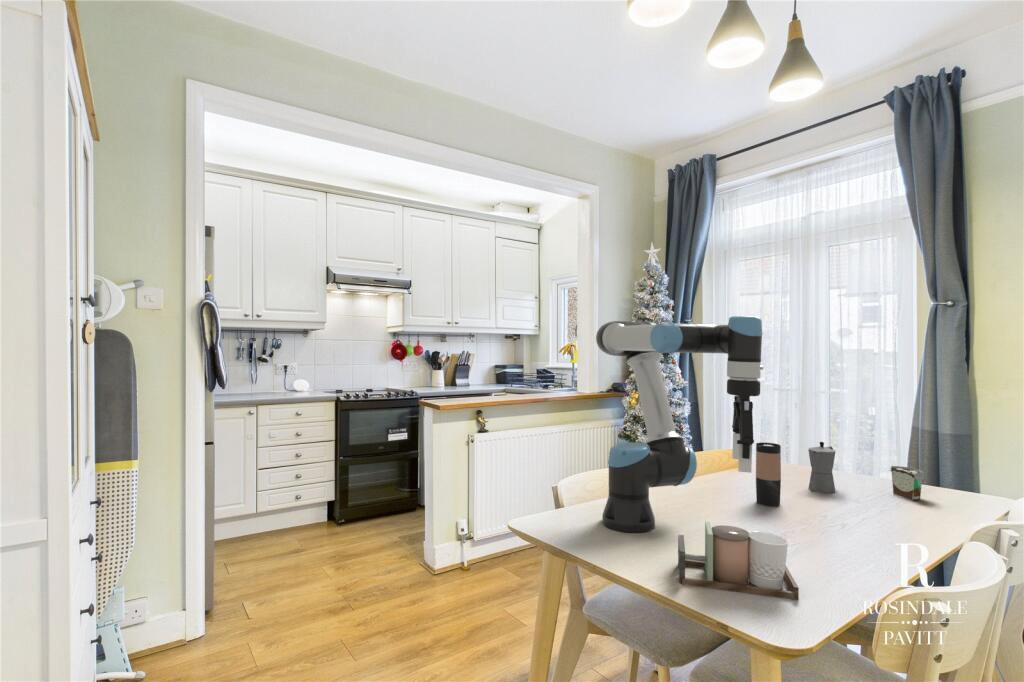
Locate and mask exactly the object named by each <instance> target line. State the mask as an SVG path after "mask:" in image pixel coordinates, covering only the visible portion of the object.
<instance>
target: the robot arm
mask: <svg viewBox="0 0 1024 682" xmlns="http://www.w3.org/2000/svg"><path fill="white" fill-rule="evenodd" d="M762 324H763V322H762V319H761V318H760V317H759V316H755V315H754V316H753V315H751V316H750V315H736V316H735V315H734V316H730V317H729V318H728V323H727V324H708V323H706V324H703V323H700V324H699V323H691V324H690V323H673V322H663V323H656V322H650V321H645V320H644V321H627V320H626V321H621V320H614V321H613V320H612V321H609V322H607V323H604V324H602V325H601V326H600V327H599V329H598V330H597V332H596V336H595V341H596V345H597V346H598V348H599V349H600V350H601V352H603V353H605V355H606V354H607V355H609V356H613V357H614V356H615V357H625V359H626V363H627V365H628V366H630V367H631V368H632V370H633V374H634V378H635V384H636V388H637V391H638V392H637V393H638V397H639V401H640V406H641V411H642V415H643V419H644V420H643V421H644V425H645V429H646V434H647V439H646V441H645V442H639V441H637V442H636V441H635V442H632V441H631V442H622V443H619V444H616V445H613V446H612V447H611V448H610V450H609V452H608V460H607V464H608V497H607V499H606V502H605V503H606V504H605V506H604V508H603V512H602V521H601V522H602V524H603V525H604V526H605V527H606V528H609V529H611V530H615V531H618V532H624V533H645V532H650V531H653V530H654V529H655V527H656V519H655V515H654V512H653V508H652V504H651V502H650V498H649V497H650V488H657V487H669V486H671V487H672V486H673V487H678V486H681V485H687V484H689V483H690V482H691V481H692V480H693V479H694V477H695V474H696V473H697V469H698V468H697V467H698V461H697V455H696V452H695V451H694V450H693V448H692V447H691V446H690V445H687V444H685V441H684V439H683V438H684V437H683V436H681V435H680V434H678V433H677V431H676V427H675V423H674V419H673V415H672V410H671V407H670V406H671V405H670V402H669V399H668V398H669V397H668V394H667V390H666V387H665V385H666V384H665V382H664V377H663V373H662V369H661V366H660V361H661V360H662V359H663V354H671V353H672V354H675V353H676V354H683V353H685V354H688V353H690V354H692V353H693V354H695V353H696V354H727V362H726V367H727V368H726V377H728V379H727V380H726V393H727V394H728V395H731V396H733V399H734V401H733V415H732V416H733V419H732V425H731V428H732V432H733V433H732V457H731V458H732V459H733V460H738V469H737V471H738V472H739V473H748V474H749V473H750V474H752V469H753V468H752V463H753V461H752V460H753V457H752V456H753V444H754V442H755V440H754V423H753V421H754V420H753V418H754V417H753V408H754V403H753V401H751V400H750V399H751V398H750V397H758V396H760V395H761V381H760V380H758V379H760V378H761V375H762V373H761V372H762V371H763V370H764V366H763V365H761V362H762V344H763V343H762V341H763V340H762V339H763V325H762Z"/></svg>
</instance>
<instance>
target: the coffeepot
mask: <svg viewBox="0 0 1024 682" xmlns="http://www.w3.org/2000/svg"><path fill="white" fill-rule="evenodd" d="M819 445H820V446H814V447H813V446H812V447H808V450H807V451H808V457H809V461H810V462H809V463H810V467H811V473H810V478H809V482H808V483H809V484H808V490H810V491H812V492H817V493H824V494H834V493H836V486H835V481H834V473H833V469H834V465H835V464H834V463H835V457H836V452H837V451H836V450H835V449H834V448H833V446H831V445H830V446H825V442H824V441H819Z"/></svg>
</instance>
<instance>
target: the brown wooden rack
mask: <svg viewBox="0 0 1024 682" xmlns="http://www.w3.org/2000/svg"><path fill="white" fill-rule="evenodd" d="M684 537H685V536H684V534H678V536H677V538H678V539H677V541H678V542H677V543H678V544H677V550H678V551H677V552H678V553H677V555H678V556H677V565H678V567H677V568H678V583H679V584H682V585H684V586H693V587H700V588H705V589H706V588H707V589H713V590H714V589H715V590H722V591H730V592H736V593H746V594H752V595H758V596H759V595H760V596H766V597H775V598H782V599H790V600H798V601H799V588H800V587H799V586H798V584H797V582H796V581H795V579H794V578H793V575H792V573H791V572H790V570H789V569H788V567H787V564H786V565H785V573H784V576H783V582H785V583H784V584H785V585H786V587H787V589H788V590H781V589H779V590H776V589H768V588H761V587H758V586H754V585H747V586H745V585H738V584H730V583H722V582H715V581H714V580H713V581H707V579H698V578H689V577H686V566H687V567H694V568H703V569H705V562H704V561H696V560H687V559H685V554H686V546H685V544H686V543H685V538H684ZM748 569H749V568H748Z"/></svg>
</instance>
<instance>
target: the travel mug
mask: <svg viewBox="0 0 1024 682" xmlns="http://www.w3.org/2000/svg"><path fill="white" fill-rule="evenodd" d="M755 447H756V448H755V488H756V489H755V493H756V494H755V495H756V504H759V505H761V506H765V507H779V506H781V488H782V487H781V486H782V485H781V482H782V467H781V466H782V464H781V463H782V462H781V461H782V460H781V459H782V456H781V455H782V454H781V453H782V452H781V451H782V450H781V449H782V447H781V444H779V443H773V442H756V444H755Z"/></svg>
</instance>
